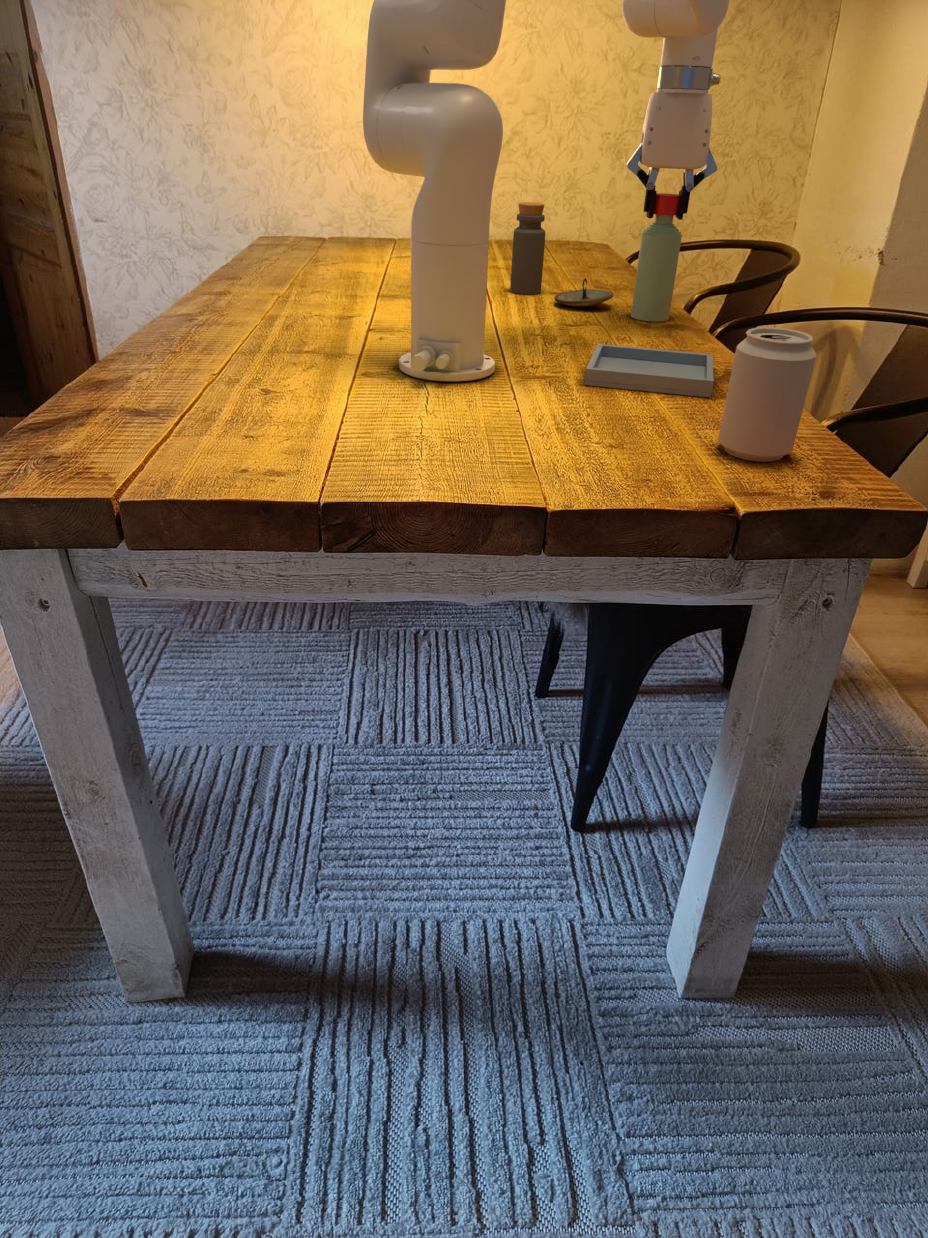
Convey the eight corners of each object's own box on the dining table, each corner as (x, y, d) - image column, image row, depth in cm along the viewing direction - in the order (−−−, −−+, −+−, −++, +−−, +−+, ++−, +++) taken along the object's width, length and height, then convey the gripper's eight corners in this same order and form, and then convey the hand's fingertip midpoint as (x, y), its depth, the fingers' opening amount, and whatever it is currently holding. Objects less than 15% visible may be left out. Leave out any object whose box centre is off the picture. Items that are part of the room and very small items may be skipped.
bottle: (504, 291, 156) (510, 203, 148) (517, 287, 161) (523, 200, 153) (533, 295, 154) (540, 205, 146) (545, 291, 158) (552, 203, 151)
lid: (618, 319, 146) (627, 289, 144) (571, 306, 141) (580, 276, 139) (588, 309, 154) (596, 281, 152) (543, 297, 150) (551, 268, 148)
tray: (710, 397, 102) (713, 380, 101) (584, 385, 105) (586, 368, 104) (710, 369, 114) (712, 354, 112) (595, 358, 116) (597, 343, 115)
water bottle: (668, 322, 138) (687, 202, 129) (629, 319, 139) (645, 199, 130) (669, 315, 143) (687, 198, 134) (632, 312, 145) (647, 196, 135)
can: (776, 439, 90) (803, 324, 83) (802, 465, 83) (834, 342, 77) (707, 438, 89) (730, 322, 83) (728, 463, 83) (754, 340, 77)
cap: (659, 215, 131) (662, 195, 129) (647, 212, 134) (650, 193, 133) (682, 215, 132) (685, 195, 130) (670, 212, 135) (672, 193, 134)
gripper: (735, 84, 126) (712, 217, 136) (624, 80, 127) (609, 213, 137) (746, 83, 120) (721, 223, 130) (629, 79, 121) (613, 218, 130)
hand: (664, 216), depth 133 cm, fingers closed on cap, 4 cm apart
